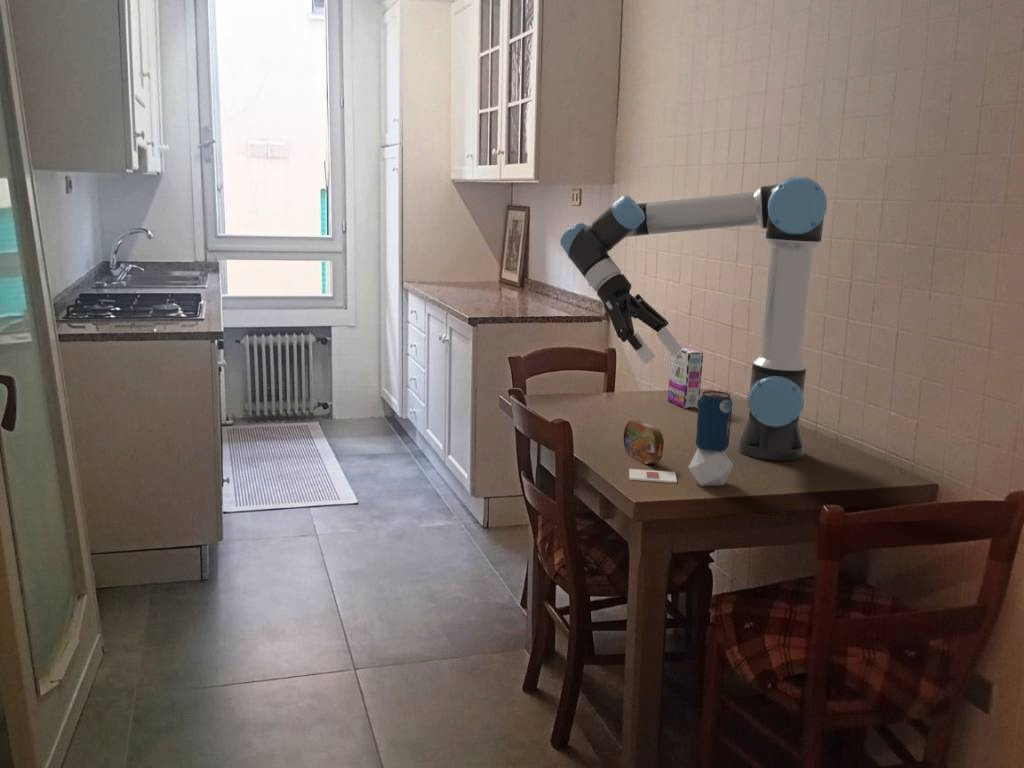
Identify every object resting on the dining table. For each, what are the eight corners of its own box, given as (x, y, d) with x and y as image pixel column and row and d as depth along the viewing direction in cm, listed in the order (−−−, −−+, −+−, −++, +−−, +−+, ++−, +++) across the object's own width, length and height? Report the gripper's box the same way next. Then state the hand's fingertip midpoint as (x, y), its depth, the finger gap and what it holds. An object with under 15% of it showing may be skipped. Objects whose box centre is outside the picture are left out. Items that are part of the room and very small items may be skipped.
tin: (621, 451, 228) (623, 416, 226) (633, 450, 229) (635, 416, 228) (652, 469, 214) (654, 432, 213) (664, 468, 215) (667, 431, 214)
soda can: (734, 452, 201) (739, 397, 199) (703, 453, 199) (708, 397, 197) (719, 444, 208) (724, 390, 205) (689, 445, 206) (694, 390, 204)
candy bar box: (699, 408, 276) (704, 352, 272) (684, 409, 274) (688, 352, 271) (681, 400, 286) (685, 346, 283) (666, 400, 285) (670, 346, 281)
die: (725, 495, 200) (745, 455, 202) (691, 474, 199) (711, 434, 201) (710, 497, 208) (729, 458, 210) (676, 476, 207) (696, 438, 209)
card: (675, 473, 211) (675, 471, 211) (676, 483, 204) (676, 480, 204) (629, 470, 212) (629, 468, 212) (629, 479, 205) (629, 477, 205)
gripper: (624, 289, 231) (677, 359, 226) (569, 297, 211) (625, 373, 206) (645, 269, 227) (699, 339, 222) (591, 275, 207) (649, 352, 202)
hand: (664, 356), depth 214 cm, fingers open, 13 cm apart
